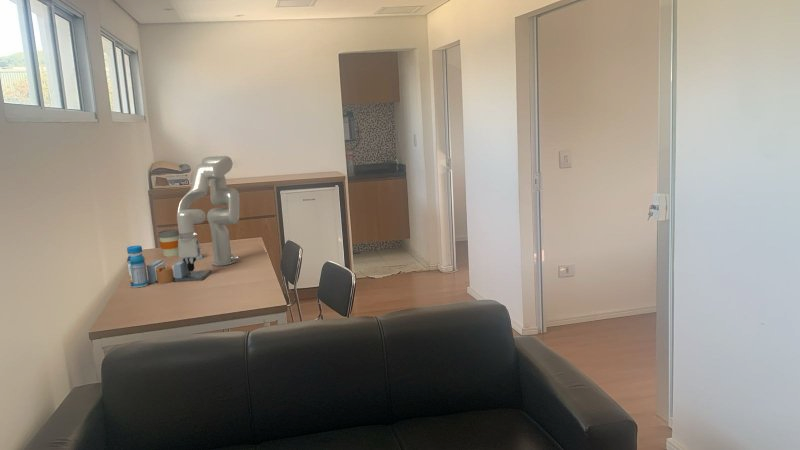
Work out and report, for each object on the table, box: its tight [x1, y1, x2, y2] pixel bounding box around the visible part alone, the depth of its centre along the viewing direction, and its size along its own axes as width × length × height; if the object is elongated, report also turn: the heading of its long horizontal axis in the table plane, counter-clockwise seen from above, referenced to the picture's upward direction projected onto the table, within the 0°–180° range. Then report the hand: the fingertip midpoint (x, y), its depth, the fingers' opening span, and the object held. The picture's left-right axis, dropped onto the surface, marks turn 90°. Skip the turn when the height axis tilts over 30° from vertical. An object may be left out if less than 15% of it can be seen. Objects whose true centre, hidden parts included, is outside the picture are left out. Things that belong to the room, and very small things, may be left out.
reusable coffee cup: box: [157, 229, 180, 258], centre depth 384 cm, size 13×13×15 cm
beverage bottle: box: [126, 244, 149, 289], centre depth 308 cm, size 8×8×20 cm
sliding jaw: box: [171, 260, 189, 278], centre depth 320 cm, size 4×13×7 cm, turn 0°
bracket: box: [156, 265, 176, 285], centre depth 320 cm, size 18×8×7 cm, turn 0°
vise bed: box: [174, 269, 212, 283], centre depth 321 cm, size 14×16×2 cm
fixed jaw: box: [146, 259, 166, 284], centre depth 320 cm, size 4×13×9 cm, turn 0°
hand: (191, 270), depth 320 cm, fingers closed
